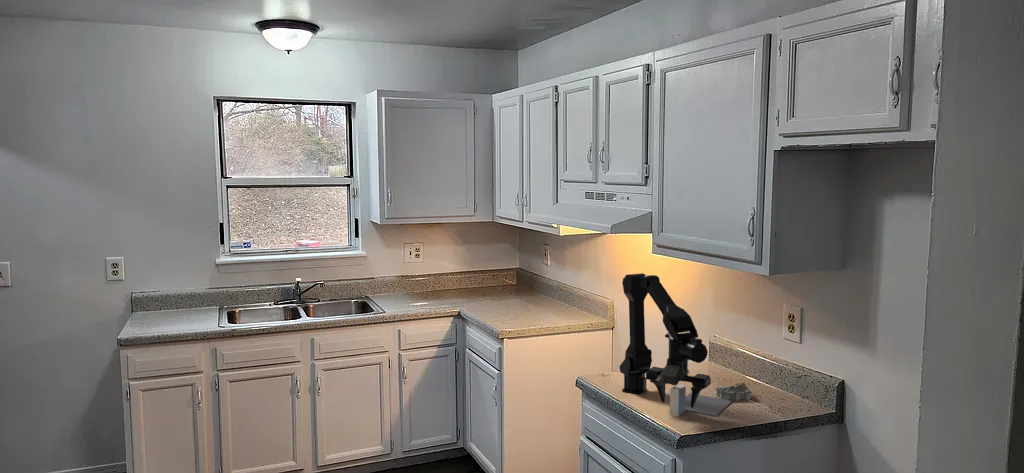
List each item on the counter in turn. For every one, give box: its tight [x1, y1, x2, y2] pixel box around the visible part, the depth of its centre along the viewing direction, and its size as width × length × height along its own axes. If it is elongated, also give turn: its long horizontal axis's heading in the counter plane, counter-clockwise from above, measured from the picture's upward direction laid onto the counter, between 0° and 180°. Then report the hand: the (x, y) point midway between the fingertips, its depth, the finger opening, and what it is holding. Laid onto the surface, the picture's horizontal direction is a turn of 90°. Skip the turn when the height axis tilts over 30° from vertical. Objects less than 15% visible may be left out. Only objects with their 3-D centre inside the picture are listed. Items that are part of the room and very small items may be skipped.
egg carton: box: [714, 382, 753, 402], centre depth 231 cm, size 11×8×4 cm
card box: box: [669, 383, 687, 417], centre depth 216 cm, size 3×6×8 cm, turn 146°
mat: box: [684, 393, 733, 417], centre depth 224 cm, size 14×16×1 cm
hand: (677, 404), depth 217 cm, fingers open, 9 cm apart
